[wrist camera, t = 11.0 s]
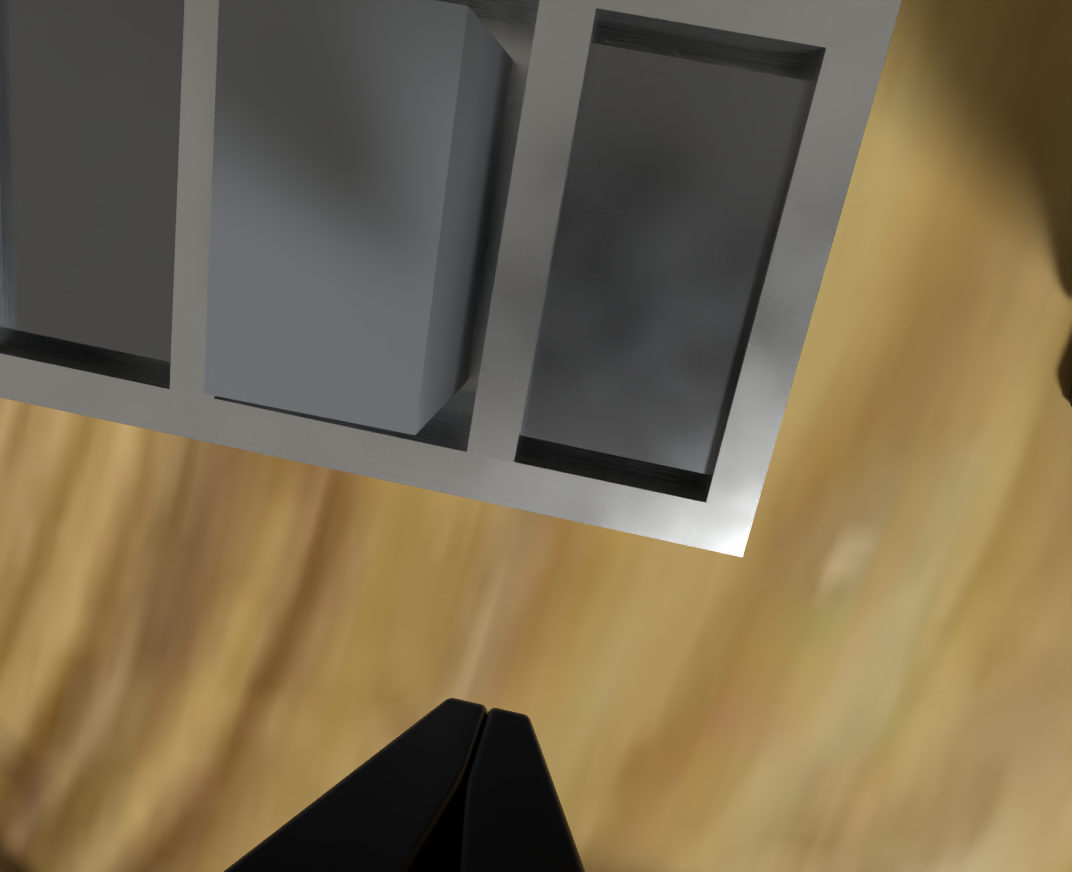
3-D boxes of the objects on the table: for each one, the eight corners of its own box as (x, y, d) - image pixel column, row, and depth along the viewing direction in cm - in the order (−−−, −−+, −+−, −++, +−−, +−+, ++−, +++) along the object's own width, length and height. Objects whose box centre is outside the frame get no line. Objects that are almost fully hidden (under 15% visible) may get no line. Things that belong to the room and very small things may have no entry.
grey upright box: (512, 59, 16) (468, 5, 12) (466, 381, 18) (414, 434, 14) (327, 29, 17) (220, -33, 12) (303, 350, 19) (203, 394, 14)
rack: (853, 20, 16) (909, -28, 13) (724, 497, 19) (742, 557, 16) (62, -113, 17) (-76, -191, 14) (63, 358, 21) (-47, 387, 17)
